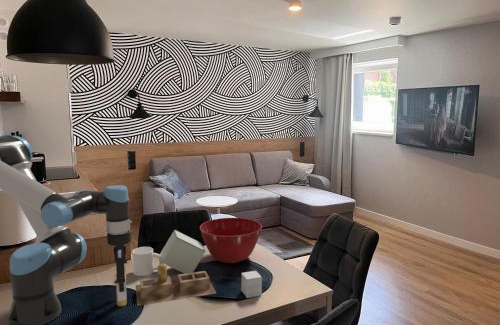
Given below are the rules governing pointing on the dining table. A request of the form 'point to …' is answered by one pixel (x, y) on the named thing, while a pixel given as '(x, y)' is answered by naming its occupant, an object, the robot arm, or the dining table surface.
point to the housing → (182, 252)
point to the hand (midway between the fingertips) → (122, 290)
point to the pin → (119, 303)
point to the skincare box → (251, 284)
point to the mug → (144, 261)
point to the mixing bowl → (230, 238)
